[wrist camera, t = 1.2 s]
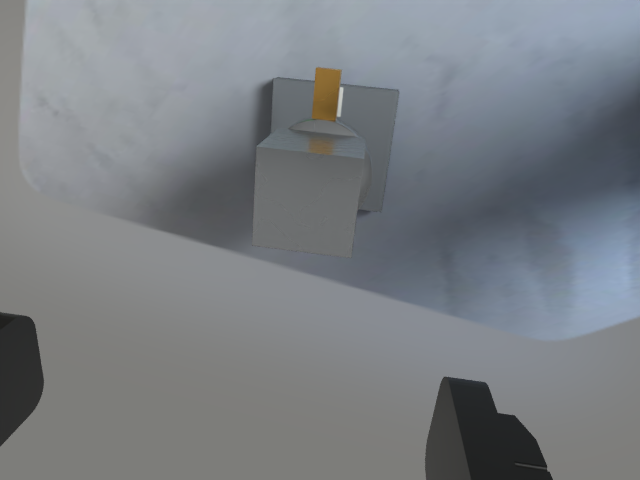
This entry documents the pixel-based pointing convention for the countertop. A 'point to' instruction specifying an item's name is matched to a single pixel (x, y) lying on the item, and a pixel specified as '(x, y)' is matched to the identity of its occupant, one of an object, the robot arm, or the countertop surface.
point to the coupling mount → (346, 121)
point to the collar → (312, 179)
